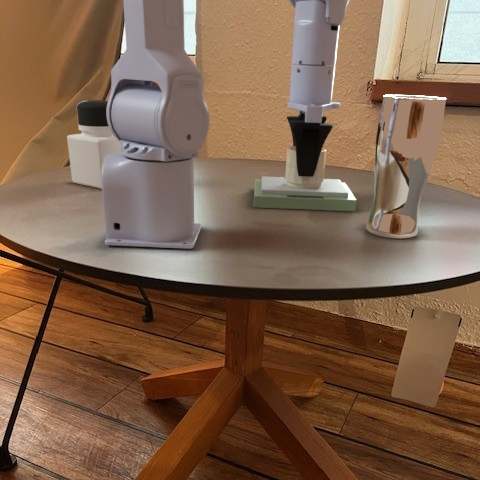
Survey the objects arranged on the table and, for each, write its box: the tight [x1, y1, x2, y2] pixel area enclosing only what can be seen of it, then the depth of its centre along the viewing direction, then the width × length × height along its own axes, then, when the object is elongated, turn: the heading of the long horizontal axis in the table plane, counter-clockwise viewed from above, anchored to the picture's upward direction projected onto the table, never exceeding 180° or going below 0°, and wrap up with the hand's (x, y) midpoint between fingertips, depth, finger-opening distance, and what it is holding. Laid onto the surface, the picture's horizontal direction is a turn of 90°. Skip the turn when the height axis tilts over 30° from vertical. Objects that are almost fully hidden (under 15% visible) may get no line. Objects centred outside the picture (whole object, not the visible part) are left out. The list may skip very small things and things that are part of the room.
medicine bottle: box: [66, 99, 124, 190], centre depth 77 cm, size 7×7×12 cm
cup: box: [284, 145, 327, 189], centre depth 72 cm, size 6×6×5 cm
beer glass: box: [365, 94, 447, 240], centre depth 58 cm, size 7×7×15 cm
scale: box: [253, 175, 358, 212], centre depth 73 cm, size 14×11×2 cm
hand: (304, 171), depth 72 cm, fingers open, 6 cm apart
